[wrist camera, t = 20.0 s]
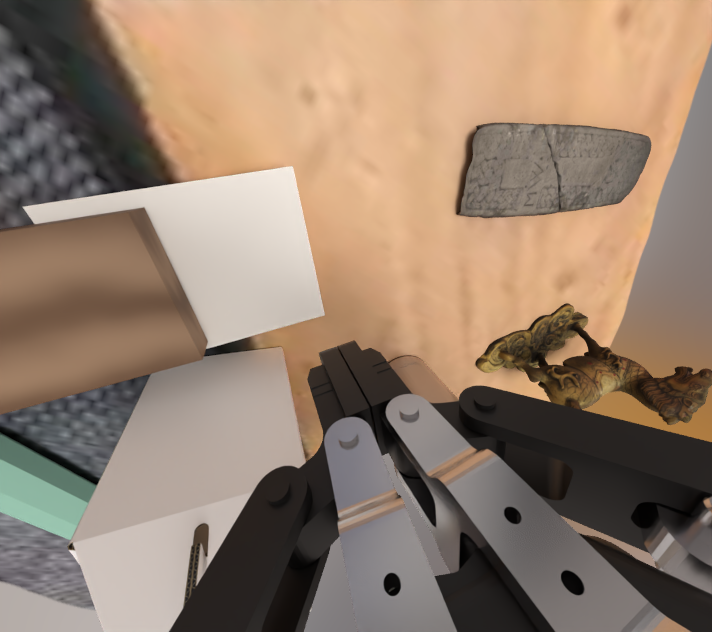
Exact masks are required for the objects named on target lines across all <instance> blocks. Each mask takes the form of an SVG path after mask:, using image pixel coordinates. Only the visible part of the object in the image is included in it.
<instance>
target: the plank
mask: <svg viewBox="0 0 712 632" xmlns="http://www.w3.org/2000/svg"><path fill="white" fill-rule="evenodd" d="M207 343H208V340H207V338H206V336H205V334H204V332H203V330H202V328H201V326H200V324H199V321H198V319H197V317H196V315H195V313H194V311H193V309H192V307H191V305H190V303H189V300H188V298H187V296H186V294H185V292H184V290H183V288H182V286H181V284H180V282H179V279H178V277H177V275H176V273H175V271H174V269H173V267H172V265H171V263H170V261H169V258H168V256H167V254H166V252H165V250H164V248H163V246H162V244H161V242H160V240H159V237H158V235H157V233H156V231H155V229H154V227H153V225H152V223H151V221H150V218H149V216H148V214H147V212H146V210H145V208H144V207H143V208H136V209H130V210H123V211H117V212H110V213H104V214H97V215H91V216H84V217H78V218H71V219H65V220H58V221H52V222H46V223H39V224H33V225H26V226H20V227H13V228H7V229H0V414H4V413H8V412H11V411H15V410H19V409H22V408H26V407H30V406H33V405H37V404H41V403H45V402H48V401H52V400H56V399H59V398H63V397H67V396H70V395H74V394H78V393H82V392H85V391H89V390H93V389H96V388H100V387H104V386H107V385H111V384H115V383H119V382H122V381H126V380H130V379H133V378H137V377H141V376H144V375H148V374H152V373H156V372H159V371H163V370H167V369H170V368H174V367H178V366H181V365H185V364H189V363H193V362H196V361H200V360H203V357H204V354H205V350H206V347H207Z"/></svg>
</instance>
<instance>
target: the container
mask: <svg viewBox="0 0 712 632" xmlns="http://www.w3.org/2000/svg"><path fill="white" fill-rule="evenodd" d="M96 486H97V485H96V484H94V483H92V482H90V481H88V480H87V479H85V478H83V477H81V476H79V475H77V474H76V473H74V472H72V471H70V470H68V469H66V468H65V467H63V466H61V465H59V464H57V463H55V462H54V461H52V460H50V459H48V458H46V457H44V456H43V455H41V454H39V453H37V452H35V451H33V450H32V449H30V448H28V447H26V446H24V445H22V444H21V443H19V442H17V441H15V440H13V439H11V438H10V437H8V436H6V435H4V434H2V433H0V512H2V513H4V514H7V515H9V516H12V517H14V518H17V519H19V520H22V521H24V522H27V523H29V524H32V525H34V526H37V527H39V528H42V529H44V530H47V531H49V532H52V533H54V534H57V535H59V536H62V537H64V538H67V539H69V540H71V538H72V536H73V534H74V532H75V530H76V528H77V526H78V523H79V521H80V519H81V517H82V515H83V513H84V511H85V509H86V507H87V505H88V503H89V501H90V499H91V497H92V495H93V492H94V490H95V488H96Z"/></svg>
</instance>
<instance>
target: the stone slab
mask: <svg viewBox="0 0 712 632" xmlns="http://www.w3.org/2000/svg"><path fill="white" fill-rule="evenodd" d="M477 127H478V129H479V130H478V131H477V132H476V134H475V135H474V139H473V143H472V146H473V159H472V162H471V164H470V167H469V169H468V172H467V174H466V185H465V190H464V196H463V198H462V202H461V211H460V212H459V213H458V215H463V216H469V217H478V216H479V217H482V218H492V217H513V216H535V215H546V214H552V213H557V212H566V211H573V210H575V211H576V210H580V209H589V208H594V207H600V206H606V205H612V204H618V203H620V202H621V201H622V200H623V199H624V198H625V197H626V196H627V195H628V194H629V193H630V192H631V190H632V189H633V188H634V186H635V185H636V183H637V181H638V179H639V177H640V174H641V173H642V171H643V169H644V167H645V164H646V161H647V159H648V157H649V154H650V150H651V141H650V138H649V137H648V136H645V135H642V134H637V133H631V132H628V131H622V130H616V129H605V128H598V127H591V126H580V125H577V126H576V125H557V124H551V125H549V124H548V125H546V124H539V125H535V124H523V123H520V124H519V123H490V124H483V125H479V126H477Z"/></svg>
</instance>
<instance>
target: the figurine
mask: <svg viewBox="0 0 712 632" xmlns="http://www.w3.org/2000/svg"><path fill="white" fill-rule="evenodd" d="M587 323H588V318H587V317H586V316H584V315H582V314H581V313H578V312H577V313H574V308H573V306H571V305H570V304H564V305H563V306H561V307H560V308H559V309H557V310H556V311H555V312H554V313H552V314H551V315H545V316H542V317H539V318H538V319H537V320H536V321H534V323H533V324H532V325H531V327H530V328H529V329H528V330H520V331H516V332H513V333H511V334H509V335H506V336H504V337H502V338H500V339H498V340H496V341H495V342H493V343H492V344H490V345H489V347H488V348H487V350H486V352H485V353H484V354H483V355H482V356H481V357H480V358H479V359H478V360H477V361H476V365H477V367H478V368H479V369H480V370H481V371H483V372H486V373H490V372H494V371H497V370H498V369H500V368H501V367H502V366H503V367H506V368H510V369H511V368H514V367H517V368H518V369H519V370H520V371H522V372H526V374H527V375H528V377H529V379H530V381H532V382H537V381H540V382H539V384H538V385H539V386H540V387H541V388H543V389H544V391H545V392H546V393H547V396H548V397H549V399H550V401H551V402H552V403H556V404H560V405H564V406H568V407H572V408H576V409H580V410H582V409H584V408H587V407H589V406H591V405H593V404H594V403H595V402H597V401H598V400H599V399H600V397H602V396H603V395H605V394H607V393H610V392H615V391H622V392H625V393H628V394H630V395H632V396H633V397H635V398H636V399H637V400H639V401H640V402H641V403H642V404H644V405H645V406H646V407H648V408H649V409H651V410H653V411H655V412H658V413H659V416H661V417H662V418H663V420H664V421H665V422H667V424H668V425H672V424H676V423H677V422H679V421H680V420H681V421H683V422H685V423H688V422H689V421H690V420H691V418H692V414H693V413H694V412H696V411H697V410H698V408H699V407H701V406H702V405H703V404H705V401H706V397H707V394H708V388H709V387H710V386H711V385H712V371H711V370H710V369H702V370H701V371H700V372H699V373H697V374H694V375H693V374H691V372H692V371H693V369H692V368H689V367H677V368H675V372H676V373H675V374H674V375H672V376H668V377H665V378H653V377H652V376H651V375H650V374H649V373H648V372H647V370H645V368H644V367H642V366H641V365H640V364H638V363H636V362H634V361H632V360H630V359H628V358H624V357H621V356H617V355H616V354H614V353H612V351H611V350H610V349H609V348H608V347H600V346H599V345H598V344H597V342H596V341H595V340H593V339H592V338H591V337H590V336H589V335H588V333H587V332H586V331H584V330H583V328H584V327H585V326H586V325H587ZM578 334H579V335H580V336H581V337H582V338H583V339H584V340H585V341H586V344H587V346H588V351H589V352H586V353H584V356H576V357H571V358H569V359H566V360H565V361H564V362H563V365H564V366H561V365H548V364H547V362H546V360H545V358H546V355H547V351H548V350H557V349H560V348H562V347H563V346H564V344H565V339H568V338H573V337H575V336H576V335H578ZM537 366H539V367H540V368H534V367H537Z"/></svg>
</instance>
